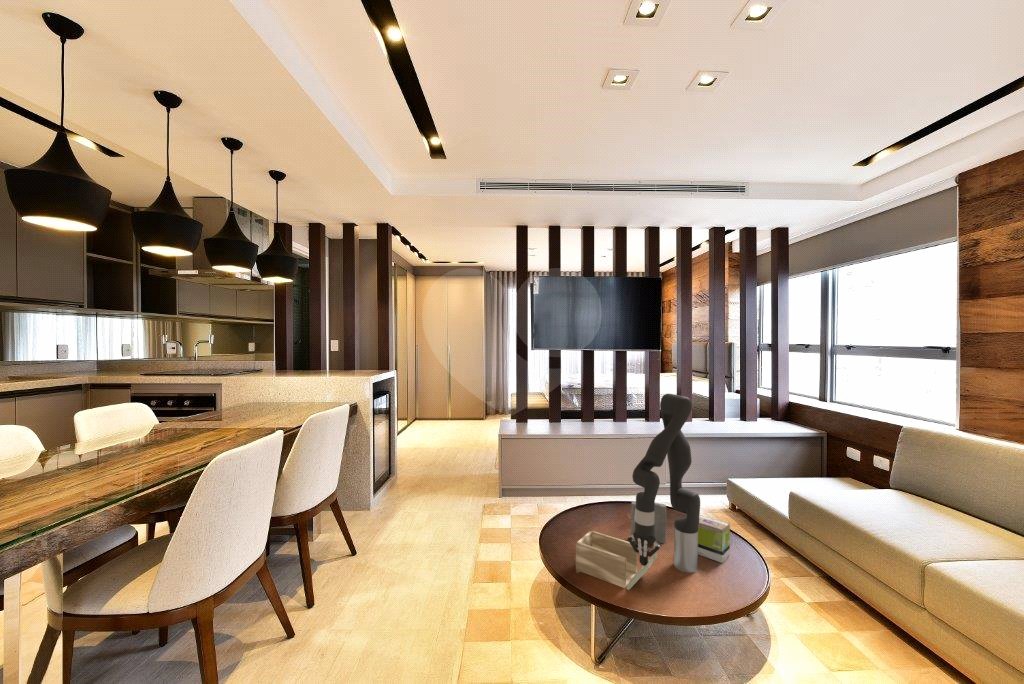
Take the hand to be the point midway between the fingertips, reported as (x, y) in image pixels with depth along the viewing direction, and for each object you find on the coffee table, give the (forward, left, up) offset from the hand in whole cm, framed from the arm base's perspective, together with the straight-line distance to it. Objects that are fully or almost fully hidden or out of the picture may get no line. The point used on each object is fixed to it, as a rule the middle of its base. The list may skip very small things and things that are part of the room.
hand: (643, 564), depth 161 cm
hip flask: (-39, -11, -9) cm, 42 cm away
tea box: (-43, +15, -9) cm, 47 cm away
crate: (0, -15, -9) cm, 18 cm away
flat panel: (0, -4, -8) cm, 9 cm away
